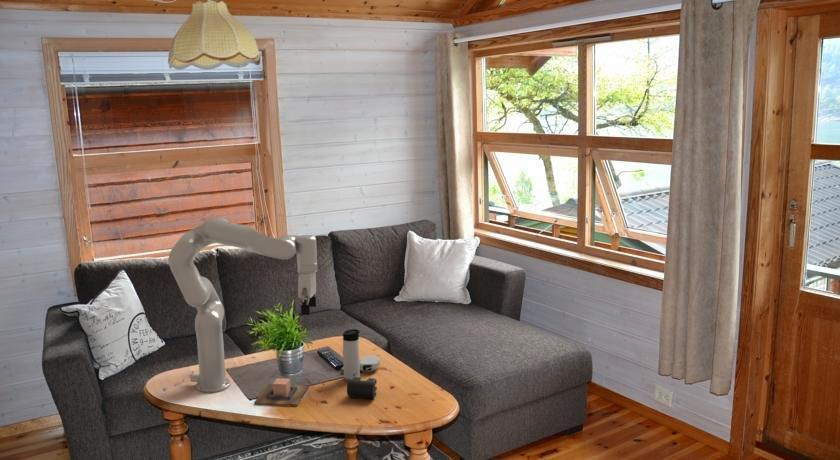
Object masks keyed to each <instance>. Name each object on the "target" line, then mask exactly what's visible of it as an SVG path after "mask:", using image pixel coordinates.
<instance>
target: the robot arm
mask: <svg viewBox="0 0 840 460" xmlns="http://www.w3.org/2000/svg"><path fill="white" fill-rule="evenodd" d="M214 243H216V244H220V245H224V246H229V247H235V248H240V249H244V250H248V251H249V252H253V253H256V254H259V255H262V256H264V257H269V258H273V259H278V260H289V259H292V258H293V257H294V256H295V254H296V264H297V265H296V266H297V267H296V268H297V273H298V281H297V282H298V283H297V284H298V285H297V286H298V287H297V289H298V291H297V294H298V295H297V297H298V299H300V313H301V314H300V315H303V316H309V315H310V314H311V313H310V312H311V311H310V310H311V308H316V306H317V297H316V296H317V294H316V293H317V277H316V273H317V272H318V253H317V238H316V236H314V235H312V234H302V235H297V234H296V235H295V234H283V235H280V236H279V237H274V236H270V235H266V234H264V233H261V232H260V231H258V230H257V229H255V228H254V227H252V226H249V225H245V224H240V223H239V224H238V223H234V222H230V221H228V220H227V219H226V218H225V217H222V216H214V217H211V218H210V219H208V220H206V221H205V222H202V223H201V224H199V225H197V226H195V227H194V228H192V229H190V230H188V231H186V232H185V233H184V234H183V235H181V237H180V238H179V239H178V240H177V242H176V243H174V245H173V246H172V248H171V249H170V252H169V255H168V265H169V268H170V271H171V273H172V275H173V278H174V279H175V281H176V283H177V285H178V288H179V289H180V291H181V294H182V296H183V299H184V300H185V302H186V303H187V304H188V305H189V306H190V307H193V308H196V311H197V313H196V316H195V320H194V330H195V336H196V344H197V345H196V346H197V358H198V373H199V374H190V377H189V380H190V382H192V383H193V382H196V385H195V389H196V390H197V391H198V392H200V393H204V394H205V393H208V394H210V393H211V394H212V393H217V392H222V391H224V390H227V389H228V388H229V387H230V385H231V381H230V378H227V377H226V360H225V349H224V348H225V345H224V336H223V321H224V317H225V309H224V305H223V304H222V302H221V300H220V297H219V296H218V293H217V291H216V289H215V287H214V285H213V283H212V282H211V280H209V279H208V278H207V277H205V276H202V275H201V274H200V272H199V270H198V268H197V266H196V265H195V263H194V259H195V258H196V257H197V255H198V254H199V253H201V250H203V249H204V248H205V249H206V247H208V246H210V245H212V244H214Z"/></svg>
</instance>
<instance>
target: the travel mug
mask: <svg viewBox="0 0 840 460" xmlns="http://www.w3.org/2000/svg"><path fill="white" fill-rule="evenodd" d="M360 332H361V331H360V330H359V329H348V330H347V329H346V330H345V331H344V332H342V346H343V347H342V350H343V352H342V353H343V355H342V356H343V363H344V365H343V367H344V370H343V379H344V381H346V382H348V381H349V380H352V379H353V378H354V377H360V378H361V372H360V371H361V370H360V363H359V359H360Z"/></svg>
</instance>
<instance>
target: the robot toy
mask: <svg viewBox="0 0 840 460" xmlns="http://www.w3.org/2000/svg"><path fill="white" fill-rule="evenodd" d="M380 356H381V355H380V354H378V355H365V356H363V357H361V359H360V358H359V363H360V371H361V372H366V373H371V372H373V371H375V370H376V369H378V368H379V366H380V365H381V364H380ZM340 370H341V371H344V362H343V366H342V367H341V368H340Z"/></svg>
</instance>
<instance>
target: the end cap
mask: <svg viewBox="0 0 840 460" xmlns="http://www.w3.org/2000/svg"><path fill="white" fill-rule="evenodd" d="M361 379H362V377H361V376H360V377H354V378H353V379H352V380H349V381H347V385H346V394H347V396H349V398H360V399H371V400H374V399H375V398H376V396H377V392H376V391H377V389H378V386H376V385H377V383H378V381H377V378H370V377H369V378H368V379H367V380H361Z"/></svg>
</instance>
